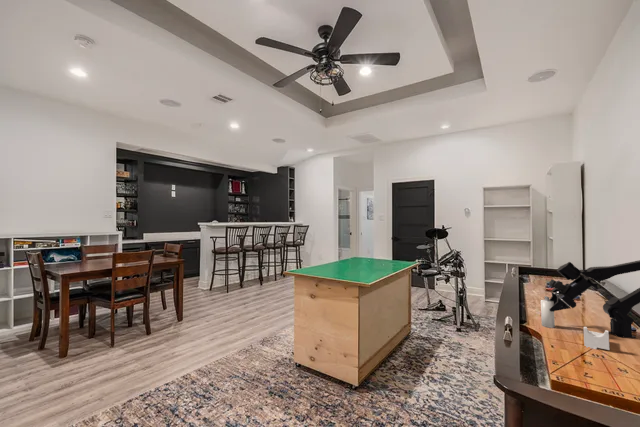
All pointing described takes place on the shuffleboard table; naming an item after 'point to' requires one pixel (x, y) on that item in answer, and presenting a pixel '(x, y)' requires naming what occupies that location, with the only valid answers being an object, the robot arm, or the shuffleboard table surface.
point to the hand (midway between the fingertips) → (548, 308)
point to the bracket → (596, 339)
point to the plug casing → (547, 313)
